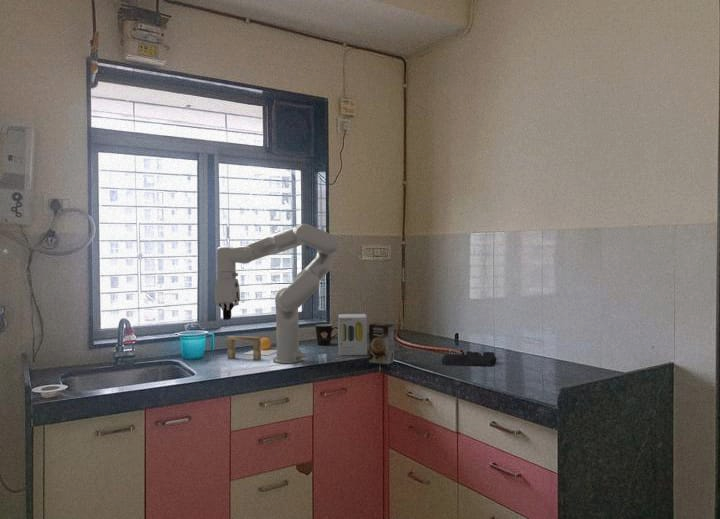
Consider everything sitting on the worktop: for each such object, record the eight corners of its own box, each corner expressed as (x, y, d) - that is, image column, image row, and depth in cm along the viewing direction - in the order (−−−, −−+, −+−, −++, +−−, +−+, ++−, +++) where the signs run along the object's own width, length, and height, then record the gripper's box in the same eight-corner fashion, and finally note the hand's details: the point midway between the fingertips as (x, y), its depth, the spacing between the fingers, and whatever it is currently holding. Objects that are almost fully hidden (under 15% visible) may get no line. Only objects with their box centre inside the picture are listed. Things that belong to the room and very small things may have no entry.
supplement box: (338, 355, 235) (337, 317, 235) (338, 350, 249) (338, 314, 248) (367, 355, 236) (367, 316, 236) (366, 350, 249) (365, 313, 249)
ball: (273, 348, 255) (273, 336, 254) (267, 351, 249) (267, 338, 249) (263, 348, 257) (262, 336, 256) (256, 350, 251) (256, 338, 251)
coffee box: (368, 362, 219) (368, 324, 219) (375, 359, 225) (374, 322, 225) (388, 364, 215) (387, 325, 215) (394, 361, 221) (394, 323, 221)
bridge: (231, 357, 235) (231, 335, 235) (260, 358, 230) (260, 337, 230) (227, 358, 232) (227, 336, 232) (257, 360, 227) (257, 338, 227)
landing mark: (280, 350, 250) (280, 350, 250) (267, 355, 238) (267, 355, 238) (256, 349, 254) (256, 348, 254) (242, 354, 242) (242, 353, 242)
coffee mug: (312, 345, 262) (312, 326, 262) (319, 343, 271) (318, 323, 270) (334, 346, 259) (334, 326, 259) (340, 343, 267) (340, 324, 267)
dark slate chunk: (442, 359, 227) (442, 348, 226) (494, 360, 223) (494, 349, 223) (442, 367, 211) (442, 355, 211) (497, 368, 208) (497, 356, 208)
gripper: (246, 275, 220) (247, 318, 220) (216, 275, 224) (217, 317, 224) (237, 276, 212) (237, 321, 213) (206, 276, 217) (206, 320, 217)
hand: (227, 319), depth 219 cm, fingers closed
